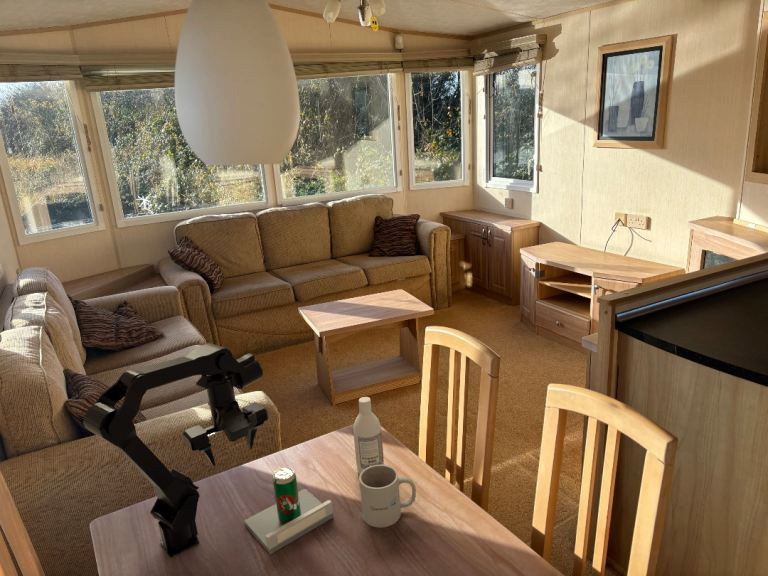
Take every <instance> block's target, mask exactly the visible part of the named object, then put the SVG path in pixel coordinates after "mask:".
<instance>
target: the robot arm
mask: <svg viewBox="0 0 768 576" xmlns="http://www.w3.org/2000/svg"><path fill="white" fill-rule="evenodd" d="M263 374H264V370H263V368H262V367H261V364H260V363H259V361H258V360H257V359H256V358H255V355H254V354H252V353H246V354H244V355H243V356H241V357H239V358H237V359H235V358H234V356H233V353H232V351H231V350H230V349H229V348H227V347H224V346H221V345H217V344H215V343H214V344H213V343H210V342H208V343H204V344H201V345H199V346H198V347H195V348H194V349H192V350H191V351H190V352H189V353H188V354H186V355H184V356H180V357H177V358H176V357H175V358H172V359H170V360H166V361H162V362H159V363H155V364H151V365H148V366H143V367H140V368H136V369H128V370H125V371H124V372H122V374H121V375H120V376H119V378H117V380H116V382H115V383H113V384H112V385H111V386H110V387H108V388H107V389H106V390H104V391H103V392H102V393H101V394H100V396H99V397H98V398H97V400H96V401H94V404H93V405H91V406H90V407H89V408H88V409H87V410H86V411H85V414H84V416H83V420H82V423H83V425H84V427H85V429H86V430H88V431H89V432H91V433H93V434H94V435H96V436H97V437H99V438H101V439H102V440H104V441H106V442H107V443H108V444H110V445H112V446H114V448H116V449H117V450H118V451H119V452H120V453H121V454H122V455H123V456H124V458H126V459H127V460H128V462H130V464H132V466H134V467H135V468H136V469H137V470H138V472H140V474H141V475H142V476H144V477H145V478H146V480H148V482H149V483H150V484H151V485H152V487H153V491H154V494H155V496H156V500H155V502H154V504H153V505H152V508H151V510H150V515H151V516H152V517H153V518H154V519H156V520H157V521H158V522H157V525H158V530H159V532H160V533H159V534H160V538H161V539H160V544H161V546H162V547H163V549H164V551H165V552H166V554H167V556H168V557H169V558H173V557H175V556H177V555H179V554H181V553H182V552H184V551H186V550H189V549H190V548H192V547H194V546H196V545H197V544H199V543H200V539H199V537H197V536H198V535H199V532H198V528H197V522H196V516H197V510H198V503H199V499H200V497H201V496H200V495H201V494H200V492H199V491H198V489H200V487H199V486H198V485H196V484H195V483H194V482H193V481H192V479H191V477H190V476H188V475H187V474H184V473H183V472H180V471H179V470H177V469H175V468H172V469H171V471H170V469H168V467H167V466H166V465H165V464H164V463H163V462H162V461H161V460H160V459H159V457H157V456H156V454H155V453H154V452H153V451H152V450H151V448H149V447H148V445H147V444H145V443H144V442H143V441H142V440H141V438H140V437H139V436H138V433H137V428H136V425H135V424H134V422H133V420H134V419H135V418H136V416H137V415H138V413H139V410H140V407H141V404H142V400H143V397H144V396H145V394H146V393H147V392H148V391H149V390H153V389H155V388H158V387H161V386H165V385H168V384H172V383H174V382H178V381H181V380H184V379H188V378H191V377H196V376H200V378H198V380H197V382H196V383H195V385H196V386H198V387H200V388H203V389H206V392H207V399H208V400H207V406H209V409H210V415H211V416H210V421H211V422H212V425H211V426H208V427H205V428H203V427H202V426H201V425H200V424H198V425H197V424H196V425H195V426H192V427H190V428H187V429H184V431H183V433H182V440H183V442H184V444H185V445H186V446H187V447H188V448H189V449H190V450H191V451H192V452H193V451H194V452H195V451H197V452H203V454H204V455H205V457H206V458H207V459H208V461H209V462H210V464H211V465H212V466H213V467H215V466H216V462H215V461H216V460H215V458H214V457H215V456H214V454H213V451H212V444H211V443H210V437H212V436H214V435H216V434H219V433H222V432H223V433H224V434H225V436H226V437H227V439H228V441H229V442H231V443H232V442H237V441H238V440H240V439H242V438H245V440H246V444H247V448H248V449H249V450H252V449H253V445H254V441H255V437H256V434H257V431H258V429H259V428H260V427H261V426H262V425H264V423H265V422H266V421H268V420H270V416H269V412H268V410H267V408H266V407H264V406H263V405H262V404H261V403H259V402H257V401H254V402H252V403H250V404H249V403H248V404H247V405H245V406H243V407H242V409H240V404H239V402H238V400H237V399H236V394H235V388H236V389H238V390H241V389H244V388H246V387H248V386H249V385H252V384H254V383H255V382H257V381H260V380H261V379H262V378H263V376H264V375H263ZM122 399H123V401H122V404H121V406H119V407H118V406H117V407H116V406H115V405H116V404H117V403H118V402H119V401H121V400H122Z"/></svg>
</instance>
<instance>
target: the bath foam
mask: <svg viewBox="0 0 768 576" xmlns="http://www.w3.org/2000/svg"><path fill="white" fill-rule="evenodd" d="M358 409H359V410H358V411H359V414H358V415H356V416H357V417H356V418H355V420H354V421H353V429H352V431H353V432H352V433H353V440H354V441H353V442H354V452H355V460H356V470H357V472H358V474H359V475H360V474H361V472H362V471H363V470H364V469H366V468H368V467H370V466H373V465H385V459H384V447H383V446H384V445H383V435H382V426H381V422H380V420H379V418H378V416H376V414H374V412H373V411H372V401H371V398H370V397H369V396H363V397H360V398H359V399H358Z"/></svg>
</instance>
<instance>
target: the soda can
mask: <svg viewBox="0 0 768 576" xmlns="http://www.w3.org/2000/svg"><path fill="white" fill-rule="evenodd" d="M271 480H272V485H273V486H272V487H273V493H274V499H275V504H276V506H277V513H278V519H279V522H280V523H282V524H284V525H285V524H287V523H288V522H290V521H292V520H294V519H296V518H297V517H299V516H301V509H300V502H299V495H298V492H299V487H298V482H297V481H298V480H297V475H296V473H295V472H294V469H293V468H292V467H286V466H285V467H281V468H278V469H276V470H275V471H274V473H273V477H272V479H271Z"/></svg>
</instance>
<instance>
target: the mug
mask: <svg viewBox="0 0 768 576" xmlns="http://www.w3.org/2000/svg"><path fill="white" fill-rule="evenodd" d="M398 473H399V472H398V471H397V470H396V468H394V467H393V466H390V465H387V464H384V465H373V466H370V467H368V468H366V469H364V470H363V471H362V472H361V474H359V478H358V479H359V489H360V500H361V510H362V511H361V512H362V518H363V521H364V523H366V524H367V525H369V526H371V527H373V528H387V527H390V526H392V525H394V524H396V523H397V522H398V521H399V519H400V518H401V514H402V512H401V511H402V510H401V509H402V508H407V507H410V506H411V505H413V504H414V502H415V500H416V496H417V489H416V484H415V483H414V480H413V479H411V478H409V477H407V476H405V477H403V476H402V477H399V474H398ZM401 484H409V485H410V487H411V492H412V493H411V497H409V499H408V500H405V501H404V500H403V501H402V500H401V496H400V485H401Z"/></svg>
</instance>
